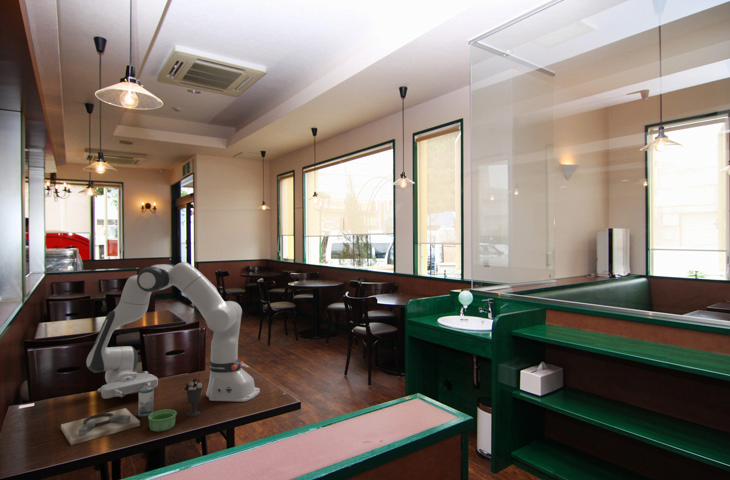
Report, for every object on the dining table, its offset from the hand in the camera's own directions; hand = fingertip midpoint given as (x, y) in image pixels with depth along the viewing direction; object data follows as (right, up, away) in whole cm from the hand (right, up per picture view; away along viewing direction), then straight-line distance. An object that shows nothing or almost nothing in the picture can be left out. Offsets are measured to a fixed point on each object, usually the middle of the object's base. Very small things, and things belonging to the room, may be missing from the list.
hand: (136, 391), depth 161 cm
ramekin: (+19, -6, -18) cm, 27 cm away
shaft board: (-2, -5, -19) cm, 20 cm away
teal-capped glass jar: (+8, -6, -8) cm, 13 cm away
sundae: (+26, -6, -7) cm, 27 cm away
